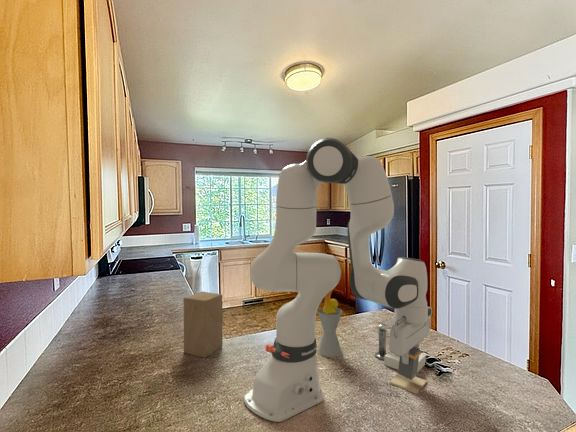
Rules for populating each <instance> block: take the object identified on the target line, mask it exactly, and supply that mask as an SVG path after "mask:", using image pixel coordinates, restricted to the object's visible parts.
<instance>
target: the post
mask: <svg viewBox="0 0 576 432" xmlns="http://www.w3.org/2000/svg"><path fill="white" fill-rule="evenodd" d="M387 353H388V352H387V329H386V330H381V329H378V351H376V352H375V353H374V358H376V359H378V360H381V361H384V356H385V355H386V354H387Z"/></svg>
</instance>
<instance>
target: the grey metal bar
mask: <svg viewBox="0 0 576 432" xmlns="http://www.w3.org/2000/svg"><path fill="white" fill-rule="evenodd" d="M396 320H397V319H396V318H395V316H394V317H392V318H390V319H389V320H387V321H384V322H383V323H382V322H381V323H378V324H377V329H378V330H379V329H381V330H386V331H387V330H388V328H389V327H391V326H393V325H394V324H395V322H396Z"/></svg>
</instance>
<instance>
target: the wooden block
mask: <svg viewBox="0 0 576 432" xmlns="http://www.w3.org/2000/svg"><path fill="white" fill-rule="evenodd" d="M222 347H223V294H222V293H215V292H209V291H199V292H197V293H194V294H191V295H188V296H185V297H183V353H184V354H188V355H192V356H196V357H200V358H203V359H205V358H207V357H209V356H210V355H212V354H214V353H215V352H217V351H218V350H221V348H222Z"/></svg>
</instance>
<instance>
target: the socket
mask: <svg viewBox="0 0 576 432" xmlns="http://www.w3.org/2000/svg"><path fill="white" fill-rule="evenodd" d="M386 353H387V354H386V355H385V356H384V360H383V365H384V366H386V367H389V368H393V369H394V370H395V369H396V370H398V369H399V360H400V356H399V355H396V354H393V353H391V352H390V351H389V352H386ZM425 362H427V354H423V353H421V354H420V355H419V361H418V369H417V374H418V373H419V372H420V371H421V370H422V368H424V366H425V365H426V364H425Z"/></svg>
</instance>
